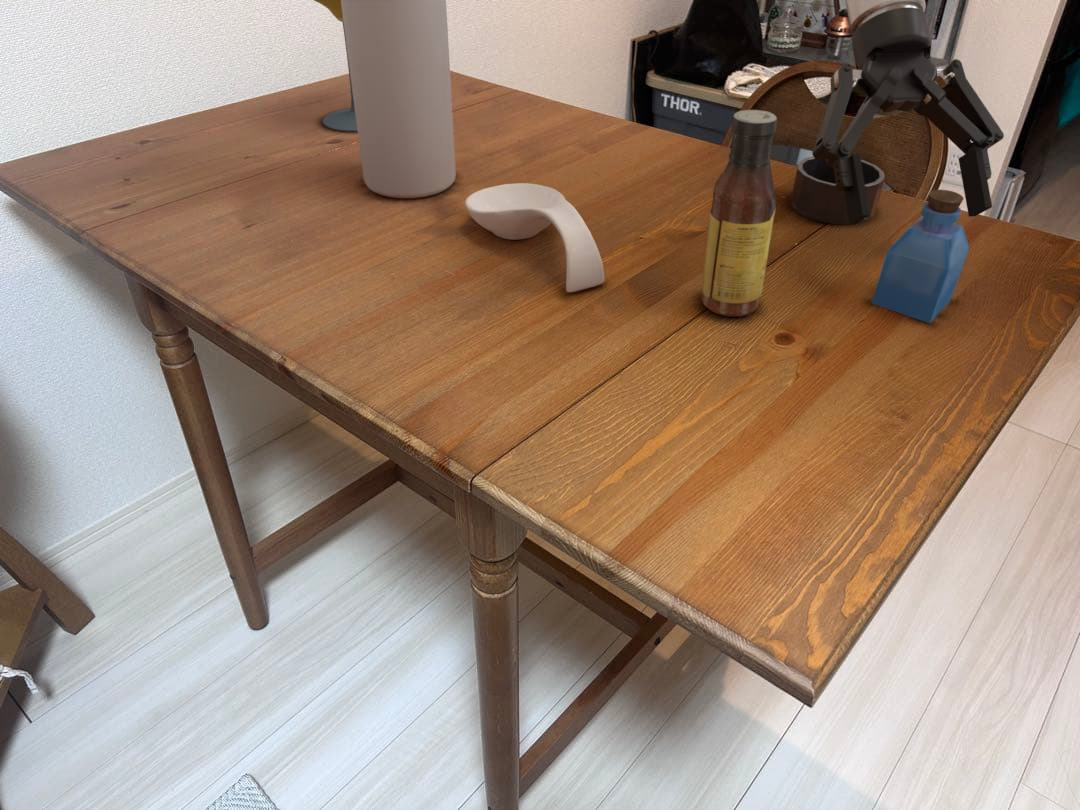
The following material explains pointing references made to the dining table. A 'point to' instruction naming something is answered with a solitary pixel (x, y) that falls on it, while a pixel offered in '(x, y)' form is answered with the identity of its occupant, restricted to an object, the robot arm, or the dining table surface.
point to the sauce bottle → (741, 219)
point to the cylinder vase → (401, 94)
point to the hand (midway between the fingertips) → (920, 216)
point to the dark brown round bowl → (830, 191)
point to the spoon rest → (540, 225)
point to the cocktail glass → (347, 117)
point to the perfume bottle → (925, 261)
